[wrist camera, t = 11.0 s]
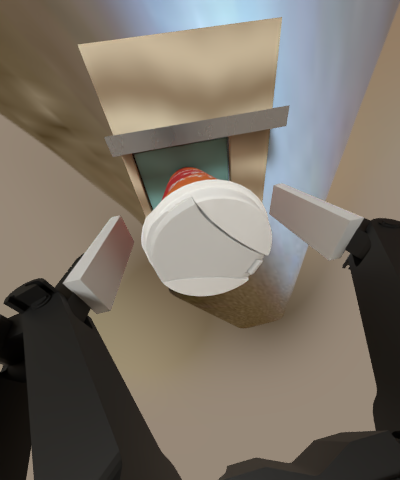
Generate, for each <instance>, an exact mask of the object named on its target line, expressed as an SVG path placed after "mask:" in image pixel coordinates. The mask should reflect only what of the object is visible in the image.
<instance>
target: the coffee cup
mask: <svg viewBox="0 0 400 480" xmlns="http://www.w3.org/2000/svg"><path fill="white" fill-rule="evenodd" d="M141 242H142V247H143V249H144V251H145V253H146V255H147V257H148V259H149V262H150V263H151V264H152V266H153V267H154V269H155V270H156V273H157V275H158V276H159V278H160V279H161V281H162V282H163V283H164V284H165V285H166V286H167V287H169V288H170V289H172V290H174V291H176V292H179V293H182V294H185V295H191V296H211V295H217V294H221V293H224V292H227V291H230V290H232V289H235V288H237V287H239V286H240V285H242V284H244V283H245V282H247V281H248V276H249V275H252V274H254V272H255V271H256V270H257V269H258V268H259V266H260V265H261V264H262V263H263V260H262V259H263V257H264V256H265V255H269V253H270V250H271V245H272V232H271V227H270V224H269V222H268V216H267V212H266V210H265V208H264V205H263V204H262V202H261V201H260V199H259V198H258V197H257V196H256V195H255V194H254V193H253V192H252V191H251V190H249V189H247V188H245V187H244V186H242V185H240V184H237V183H234V182H231V181H226V180H220V179H216V178H215V177H213V176H211V175H209V174H207V173H205V172H203V171H201V170H199V169H197V168H193V167H185V168H181V169H179V170H177V171H176V172H175V173H174V174H173V175H172V176H171V178H170V180H169V182H168V184H167V187H166V190H165V192H164V195H163V198H162V201H161V202H160V203H159V204H158V205H157V207H156V208H155V209H154V210H153V211H152V212H151V213H150V214H149V215H148V216H147V217H146V219H145V222H144V225H143V228H142V235H141Z"/></svg>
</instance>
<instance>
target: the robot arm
mask: <svg viewBox="0 0 400 480" xmlns="http://www.w3.org/2000/svg"><path fill="white" fill-rule="evenodd" d="M269 214H270V215H271V216H273V217H274V218H275V219H276V220H278V221H279V222H280V223H282V224H283V225H284V226H285V227H287V228H288V229H289V230H290V231H292V232H293V233H294V234H296V235H297V236H298V237H299V238H301V239H302V240H303V241H305V242H306V243H307V244H308V245H310V246H311V247H312V248H314V249H315V250H316V251H317V252H319V253H320V254H321V255H322V256H324V257H325V258H326V259H328V260H333V259H338V258H341V256H342V255H343V253H344V251H345V250H347V251H348V252H350V255H349V257H348V258H347V260H346V262H345V263H344V264H343V268H345V267H346V266H347V265H350V267H349V269H350V270H351V274H352V278H353V283H354V287H355V292H356V296H357V300H358V305H359V310H360V314H361V318H362V323H363V327H364V332H365V336H366V341H367V345H368V349H369V354H370V358H371V363H372V367H373V372H374V376H375V381H376V385H377V395H376V398H375V400H374V403H373V416H374V423H375V428H376V431H365V432H344V433H338V434H335V435H331V436H328V437H325V438H321V439H318V440H314V441H313V442H312V443H311V444H310V445H309V446H308V447H307V448H306V449H305V450H304V451H303V452H302V453H301V454H300V455H299V456H298V457H297V458H296V459H295V460H294V461H293V462H292V463H284V462H278V461H272V460H266V459H261V458H253V459H250V460H246V461H243V462H240V463H236V464H233V465H229V466H227V470H226V473H225V474H224V475H223V476H222V477H220V478H219V480H400V221H396V220H392V219H386V218H377V219H373V220H371V221H370V220H367V219H365V218H364V217H361V216H359V215H356V214H354V213H352V212H350V211H347V210H345V209H342V208H340V207H337V206H335V205H333V204H330V203H328V202H326V201H323V200H321V199H318V198H316V197H314V196H311V195H309V194H306V193H304V192H302V191H299V190H297V189H295V188H292V187H290V186H287V185H285V184H283V183H282V184H276V185H274V187H273V193H272V200H271V206H270V213H269ZM133 244H134V241H133V239H132V237H131V235H130V233H129V231H128V229H127V227H126V225H125V223H124V221H123V219H122V217H121V216H115V217H111V218H110V220H109V221H108V222H107V224H106V225H105V226H104V228H103V229H102V231H101V232H100V233H99V234H98V236H97V237H96V239H95V240H94V241H93V243H92V244H91V245H90V247H89V248H88V249H87V251H86V252H85V253H84V254H82V255H81V256H80V257H79V258H77V259H76V261H75V262H74V263H73V265H72V267H70V268H69V270H68V272H67V273H66V274H65V275H64V276H63V278H62V279H61V280H60V281H59V283H58V284H57V285H56V287H55V288H54V287H53V286H52V285H50V284H49V283H48V282H47V281H46V280H44V279H42V278H41V279H40V278H38V279H35V280H32V281H30V282H27V283H25V284H23V285H22V286H20V287H18V288H17V289H15V290H14V291H13V292H12V293H10V294H9V296H8V297H7V298H6V299H5V301H4V304H5V305H7V306H9V307H10V308H12V309H14V310H16V311H17V312H19V314H17V315H14V316H12V317H10V318H6V317H4V316H2V315H0V364H3V368H2V370H1V372H0V480H26V476H27V470H28V463H29V457H30V451H31V445H32V459H33V472H34V480H182V479H181V478H180V476H179V474H178V473H177V471H176V469H175V467H174V466H173V465H172V463H171V462H170V461H169V460H168V459H167V458H166V457H165V456H164V454H163V453H162V452H161V450H160V448H159V447H158V445H157V443H156V441H155V439H154V437H153V435H152V433H151V432H150V430H149V428H148V426H147V424H146V422H145V420H144V418H143V416H142V414H141V413H140V411H139V409H138V407H137V405H136V403H135V401H134V399H133V397H132V396H131V393H130V392H129V390H128V388H127V386H126V384H125V382H124V380H123V378H122V376H121V374H120V372H119V371H118V369H117V367H116V365H115V363H114V361H113V359H112V357H111V355H110V354H109V352H108V350H107V348H106V346H105V344H104V342H103V340H102V338H101V336H100V334H99V332H98V331H97V329H96V327H95V325H94V323H93V321H92V319H91V318H90V317H89V316H88V313H89V311H90V309H92V310H93V311H94V312H95V313H96V314H99V313H103V312H107V311H110V310H111V308H112V305H113V302H114V299H115V296H116V293H117V291H118V288H119V285H120V282H121V279H122V276H123V273H124V270H125V267H126V264H127V262H128V259H129V256H130V253H131V250H132V247H133Z"/></svg>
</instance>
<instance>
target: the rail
mask: <svg viewBox="0 0 400 480" xmlns="http://www.w3.org/2000/svg"><path fill="white" fill-rule="evenodd" d="M288 111H289V106H284V107H278V108H272V109H266V110H260V111H254V112H248V113H243V114H237V115H231V116H225V117H219V118H213V119H207V120H202V121H196V122H190V123H184V124H178V125H172V126H166V127H160V128H155V129H149V130H143V131H137V132H131V133H125V134H119V135H114V136H108V137H104V138H105V140H106V142H107V145H108V147H109V149H110V152H111V154H112V156H113V157H115V156H120V155H126V154H132V153H137V152H143V151H148V150H154V149H160V148H165V147H171V146H176V145H182V144H188V143H193V142H199V141H204V140H210V139H216V138H221V137H227V136H232V135H238V134H244V133H249V132H255V131H260V130H266V129H272V128H277V127H283V126H286V124H287V117H288Z"/></svg>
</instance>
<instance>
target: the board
mask: <svg viewBox="0 0 400 480" xmlns="http://www.w3.org/2000/svg"><path fill="white" fill-rule="evenodd" d="M281 23H282V17H280V18H272V19H265V20H258V21H250V22H243V23H235V24H228V25H220V26H213V27H206V28H198V29H191V30H183V31H176V32H169V33H161V34H154V35H146V36H139V37H132V38H124V39H117V40H109V41H102V42H95V43H87V44H80V45H78V47H79V49H80V52H81V55H82V57H83V60H84V62H85V65H86V67H87V70H88V72H89V75H90V77H91V80H92V82H93V85H94V87H95V90H96V92H97V95H98V97H99V100H100V103H101V105H102V108H103V110H104V113H105V115H106V118H107V120H108V123H109V125H110V128H111V130H112V133H113V135H119V134H125V133H131V132H137V131H143V130H149V129H155V128H160V127H166V126H172V125H178V124H184V123H190V122H196V121H202V120H207V119H213V118H219V117H225V116H231V115H237V114H243V113H248V112H254V111H260V110H266V109H272V106H273V97H274V88H275V78H276V69H277V60H278V51H279V41H280V32H281ZM269 134H270V129H266V130H260V131H255V132H249V133H244V134H238V135H232V136H228V143H229V181H231V182H234V183H237V184H240V185H242V186H244V187H245V188H247V189H249V190H251V191H252V192H253V193H254V194H255V195H256V196H257V197H258V198H259V199H260V201H261V202H262V200H263V190H264V181H265V172H266V162H267V153H268V144H269ZM121 156H122V158H123V161H124V163H125V166H126V168H127V171H128V173H129V176H130V178H131V181H132V183H133V186H134V188H135V191H136V193H137V196H138V198H139V201H140V204H141V206H142V209H143V211H144V214H145V216H146V217H147V216H148V215H149V214H150V213H151V212H152V209H151V206H150V203H149V200H148V198H147V195H146V192H145V189H144V186H143V184H142V181H141V178H140V175H139V172H138V170H137V167H136V164H135V161H134V159H133V156H132V154H126V155H121ZM134 157H135V160H136V163H137V165H138V168H139V171H140V174H141V177H142V180H143V182H144V185H145V188H146V191H147V194H148V197H149V199H150V202H151V205H152V208H153V210H154V209H155V208H156V207H157V205H158V204H159V203H160V202H161V201H162V198H163V195H164V192H165V190H166V187H167V184H168V182H169V180H170V178H171V176H172V175H173V174H174V173H175V172H176V171H177V170H179V169H181V168H185V167H193V168H197V169H199V170H201V171H203V172H205V173H207V174H209V175H211V176H213V177H215V178H216V179H220V180H226V181H228V153H227V138H221V139H215V140H210V141H204V142H199V143H193V144H188V145H182V146H176V147H171V148H165V149H160V150H154V151H148V152H143V153H137V154H134Z"/></svg>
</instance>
